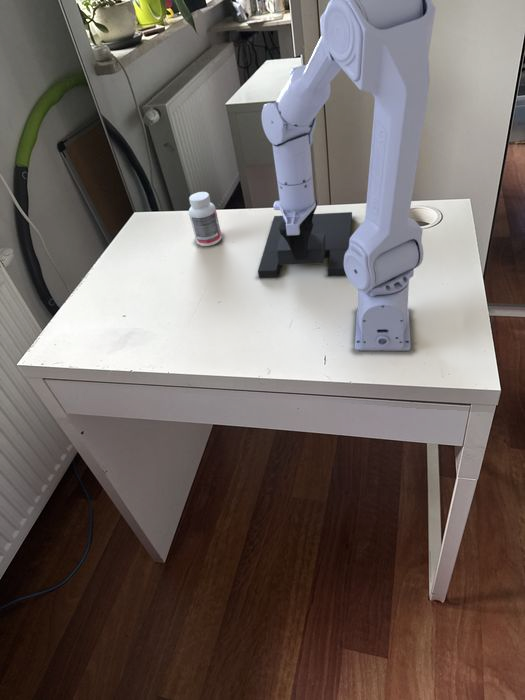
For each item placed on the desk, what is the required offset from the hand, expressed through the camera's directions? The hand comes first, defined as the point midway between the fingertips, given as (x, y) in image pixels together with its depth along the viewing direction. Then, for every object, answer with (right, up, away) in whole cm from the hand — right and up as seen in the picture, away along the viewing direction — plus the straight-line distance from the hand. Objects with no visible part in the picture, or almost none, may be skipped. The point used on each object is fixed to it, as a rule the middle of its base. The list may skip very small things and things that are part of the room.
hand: (302, 249), depth 93 cm
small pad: (0, -1, +1) cm, 1 cm away
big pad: (+2, +2, +7) cm, 8 cm away
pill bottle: (-18, +5, +15) cm, 24 cm away
